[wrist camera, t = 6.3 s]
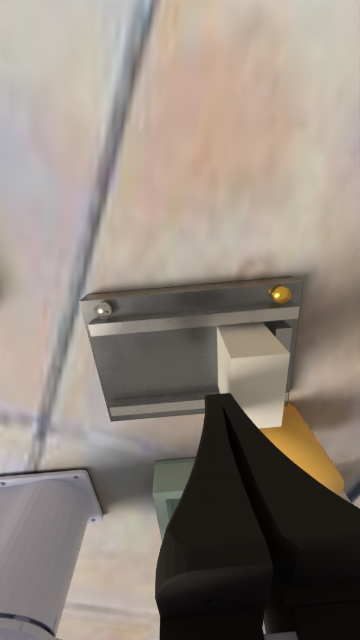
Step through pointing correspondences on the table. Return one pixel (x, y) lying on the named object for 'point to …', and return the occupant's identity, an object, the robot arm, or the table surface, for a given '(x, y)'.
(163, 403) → the box
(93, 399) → the table surface
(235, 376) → the lever
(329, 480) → the cap
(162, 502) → the green rectangular tray
